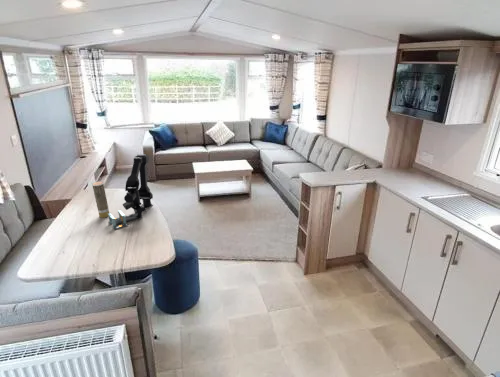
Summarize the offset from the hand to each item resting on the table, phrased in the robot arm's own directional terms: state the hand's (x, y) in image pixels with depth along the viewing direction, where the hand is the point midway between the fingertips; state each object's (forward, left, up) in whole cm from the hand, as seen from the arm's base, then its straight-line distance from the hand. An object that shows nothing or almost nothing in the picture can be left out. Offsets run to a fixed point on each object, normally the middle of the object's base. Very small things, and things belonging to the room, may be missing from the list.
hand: (138, 216), depth 216 cm
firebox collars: (0, -14, -1) cm, 14 cm away
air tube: (0, -7, -1) cm, 7 cm away
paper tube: (-18, -18, -1) cm, 25 cm away
